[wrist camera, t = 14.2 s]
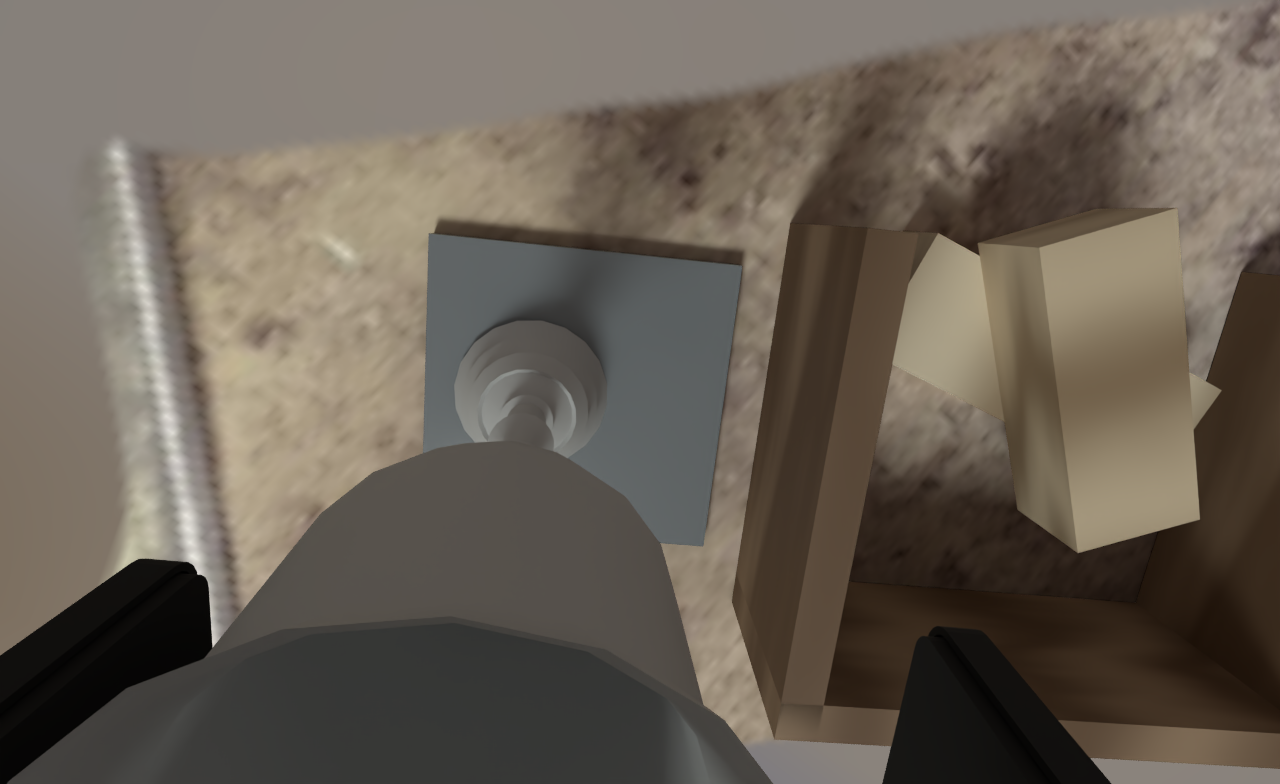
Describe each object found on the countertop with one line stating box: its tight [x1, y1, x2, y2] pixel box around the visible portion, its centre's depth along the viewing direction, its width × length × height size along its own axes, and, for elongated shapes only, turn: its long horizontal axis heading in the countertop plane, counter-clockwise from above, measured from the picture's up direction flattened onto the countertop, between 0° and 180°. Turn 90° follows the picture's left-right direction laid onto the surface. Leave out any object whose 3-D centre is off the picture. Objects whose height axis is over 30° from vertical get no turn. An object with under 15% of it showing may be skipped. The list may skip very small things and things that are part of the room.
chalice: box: [7, 321, 773, 784], centre depth 14 cm, size 7×7×18 cm
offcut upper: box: [978, 208, 1200, 553], centre depth 20 cm, size 9×4×3 cm, turn 16°
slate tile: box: [423, 233, 742, 546], centre depth 23 cm, size 10×10×1 cm
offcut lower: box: [892, 231, 1222, 430], centre depth 23 cm, size 11×4×3 cm, turn 63°
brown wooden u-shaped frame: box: [732, 223, 1280, 769], centre depth 21 cm, size 17×14×7 cm
